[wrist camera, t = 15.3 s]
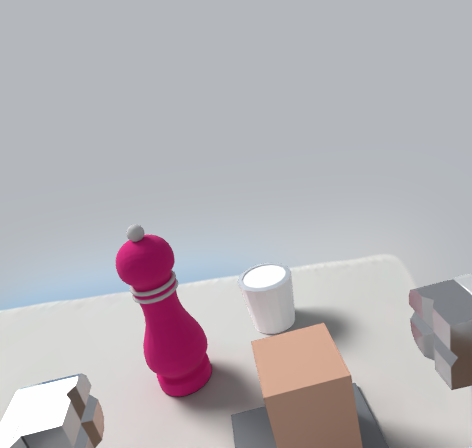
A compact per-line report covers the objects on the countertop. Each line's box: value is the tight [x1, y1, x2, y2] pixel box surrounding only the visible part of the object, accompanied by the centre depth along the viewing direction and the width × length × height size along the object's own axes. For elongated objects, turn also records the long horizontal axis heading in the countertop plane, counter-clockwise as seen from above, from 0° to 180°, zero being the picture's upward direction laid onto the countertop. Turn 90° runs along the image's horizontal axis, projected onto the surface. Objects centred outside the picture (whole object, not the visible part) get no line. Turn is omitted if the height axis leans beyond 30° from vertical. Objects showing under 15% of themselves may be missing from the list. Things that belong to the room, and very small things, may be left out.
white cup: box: [238, 263, 295, 334], centre depth 55 cm, size 7×7×7 cm
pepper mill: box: [116, 225, 212, 397], centre depth 46 cm, size 7×7×20 cm
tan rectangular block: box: [251, 323, 363, 448], centre depth 36 cm, size 7×7×10 cm
